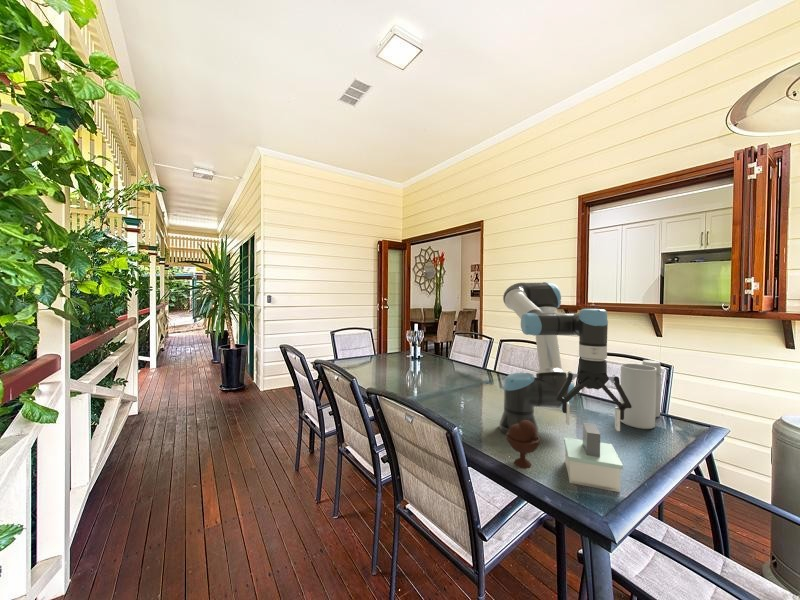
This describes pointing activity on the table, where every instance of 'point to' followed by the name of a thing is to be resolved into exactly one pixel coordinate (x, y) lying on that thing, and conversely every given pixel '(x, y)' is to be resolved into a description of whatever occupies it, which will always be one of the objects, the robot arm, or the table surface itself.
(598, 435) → the lid
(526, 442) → the ice cream bowl
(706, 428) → the table surface
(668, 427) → the table surface
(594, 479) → the crate
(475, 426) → the table surface
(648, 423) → the cylinder vase
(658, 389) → the water bottle
